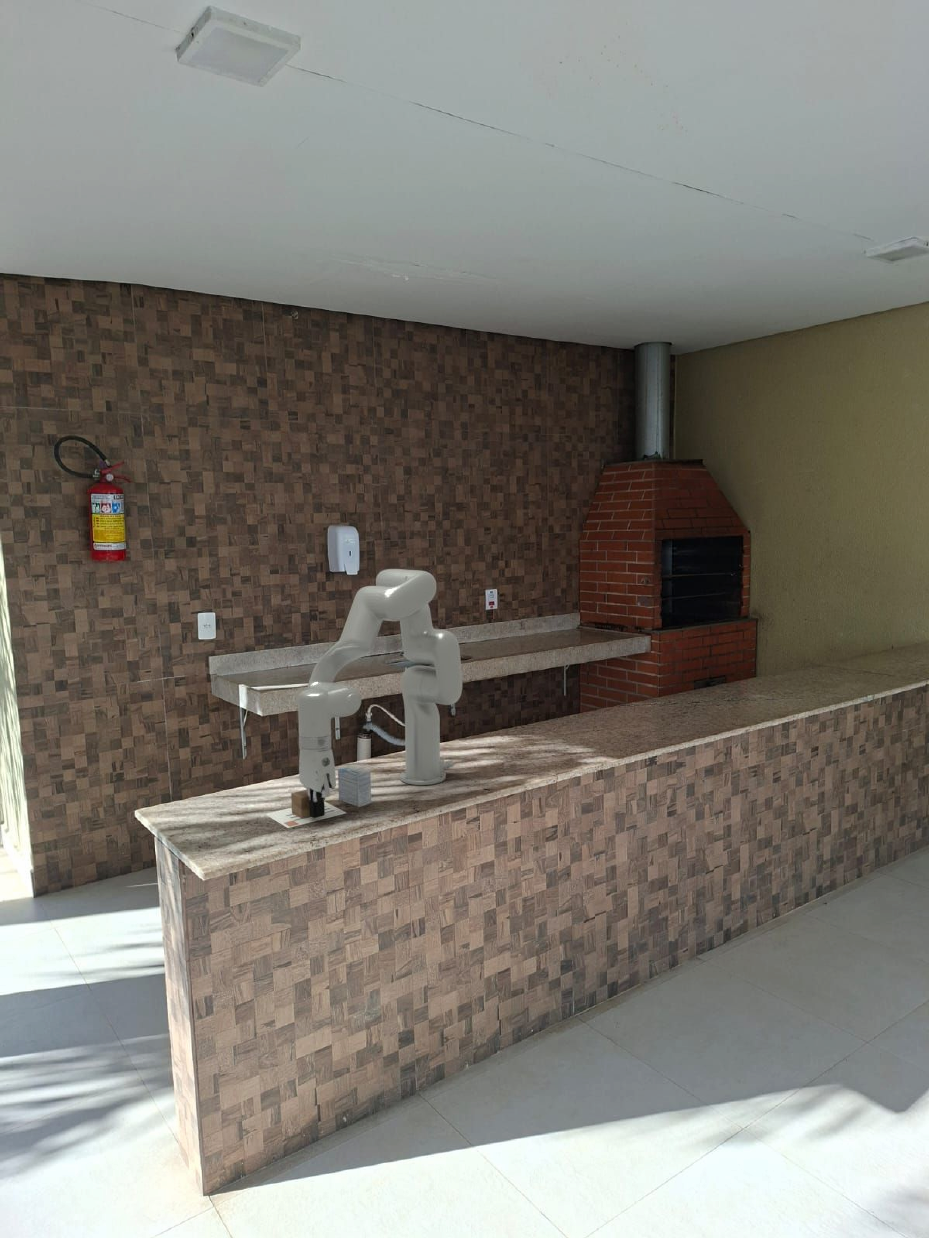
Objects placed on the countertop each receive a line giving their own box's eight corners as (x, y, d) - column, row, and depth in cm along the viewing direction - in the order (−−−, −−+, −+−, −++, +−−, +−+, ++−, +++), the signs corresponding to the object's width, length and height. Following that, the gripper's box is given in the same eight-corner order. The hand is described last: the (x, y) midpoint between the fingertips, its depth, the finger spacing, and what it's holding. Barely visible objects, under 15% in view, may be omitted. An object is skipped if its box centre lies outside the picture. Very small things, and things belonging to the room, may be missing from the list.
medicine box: (371, 803, 222) (371, 770, 221) (358, 808, 219) (357, 774, 218) (351, 797, 227) (350, 764, 226) (338, 801, 224) (337, 768, 223)
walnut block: (310, 808, 218) (309, 789, 217) (319, 813, 214) (319, 794, 213) (291, 812, 215) (291, 793, 214) (301, 818, 211) (301, 798, 210)
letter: (322, 801, 224) (322, 800, 224) (346, 814, 215) (346, 812, 215) (264, 815, 214) (264, 813, 214) (287, 829, 205) (287, 827, 205)
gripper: (345, 745, 204) (347, 821, 206) (313, 732, 216) (315, 804, 218) (317, 751, 199) (319, 828, 202) (286, 737, 211) (288, 811, 213)
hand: (317, 815), depth 210 cm, fingers closed
